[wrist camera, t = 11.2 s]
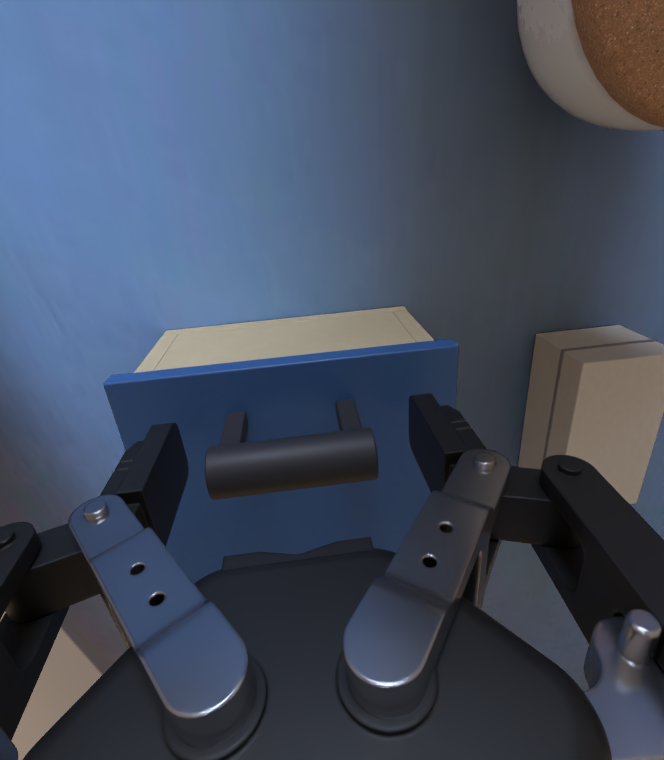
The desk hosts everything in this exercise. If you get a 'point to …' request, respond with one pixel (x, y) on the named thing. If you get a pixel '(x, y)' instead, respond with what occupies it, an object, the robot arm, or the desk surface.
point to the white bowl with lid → (598, 58)
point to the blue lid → (291, 447)
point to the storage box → (283, 338)
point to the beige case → (595, 402)
